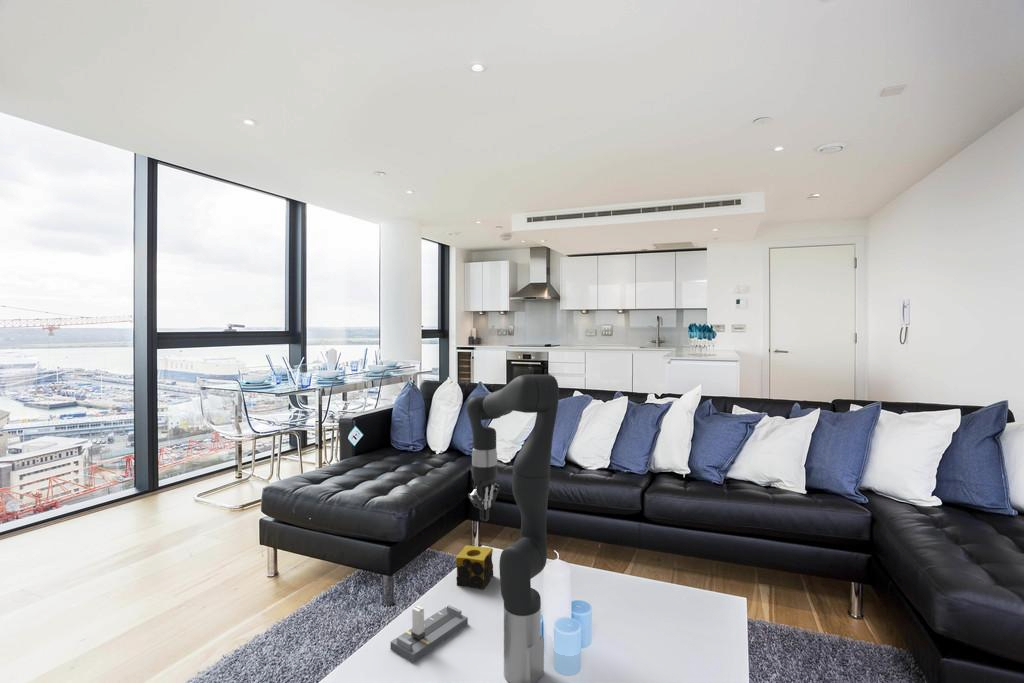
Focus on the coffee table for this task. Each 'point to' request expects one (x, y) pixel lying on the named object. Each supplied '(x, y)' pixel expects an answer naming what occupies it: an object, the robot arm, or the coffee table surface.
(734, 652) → the coffee table surface
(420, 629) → the fader
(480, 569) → the candle
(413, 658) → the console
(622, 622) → the coffee table surface
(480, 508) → the robot arm
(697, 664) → the coffee table surface
